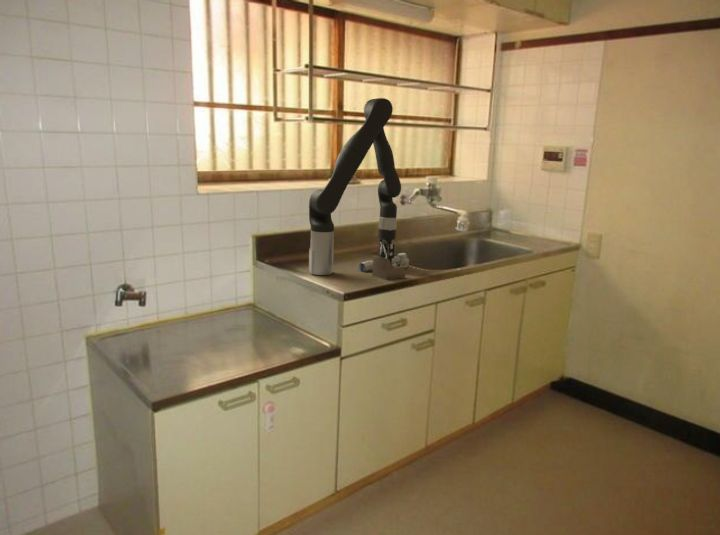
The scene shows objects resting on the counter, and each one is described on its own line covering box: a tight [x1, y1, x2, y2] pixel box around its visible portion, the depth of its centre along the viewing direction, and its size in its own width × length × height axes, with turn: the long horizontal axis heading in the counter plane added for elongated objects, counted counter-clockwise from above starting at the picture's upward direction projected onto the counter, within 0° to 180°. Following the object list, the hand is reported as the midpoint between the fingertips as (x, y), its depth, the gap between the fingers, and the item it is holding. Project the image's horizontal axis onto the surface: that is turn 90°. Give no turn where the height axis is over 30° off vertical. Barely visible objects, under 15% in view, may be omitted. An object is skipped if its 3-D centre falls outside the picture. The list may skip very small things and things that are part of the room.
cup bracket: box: [371, 255, 406, 281], centre depth 214 cm, size 9×9×8 cm
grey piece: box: [358, 252, 410, 273], centre depth 228 cm, size 5×7×25 cm
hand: (385, 265), depth 228 cm, fingers open, 8 cm apart
